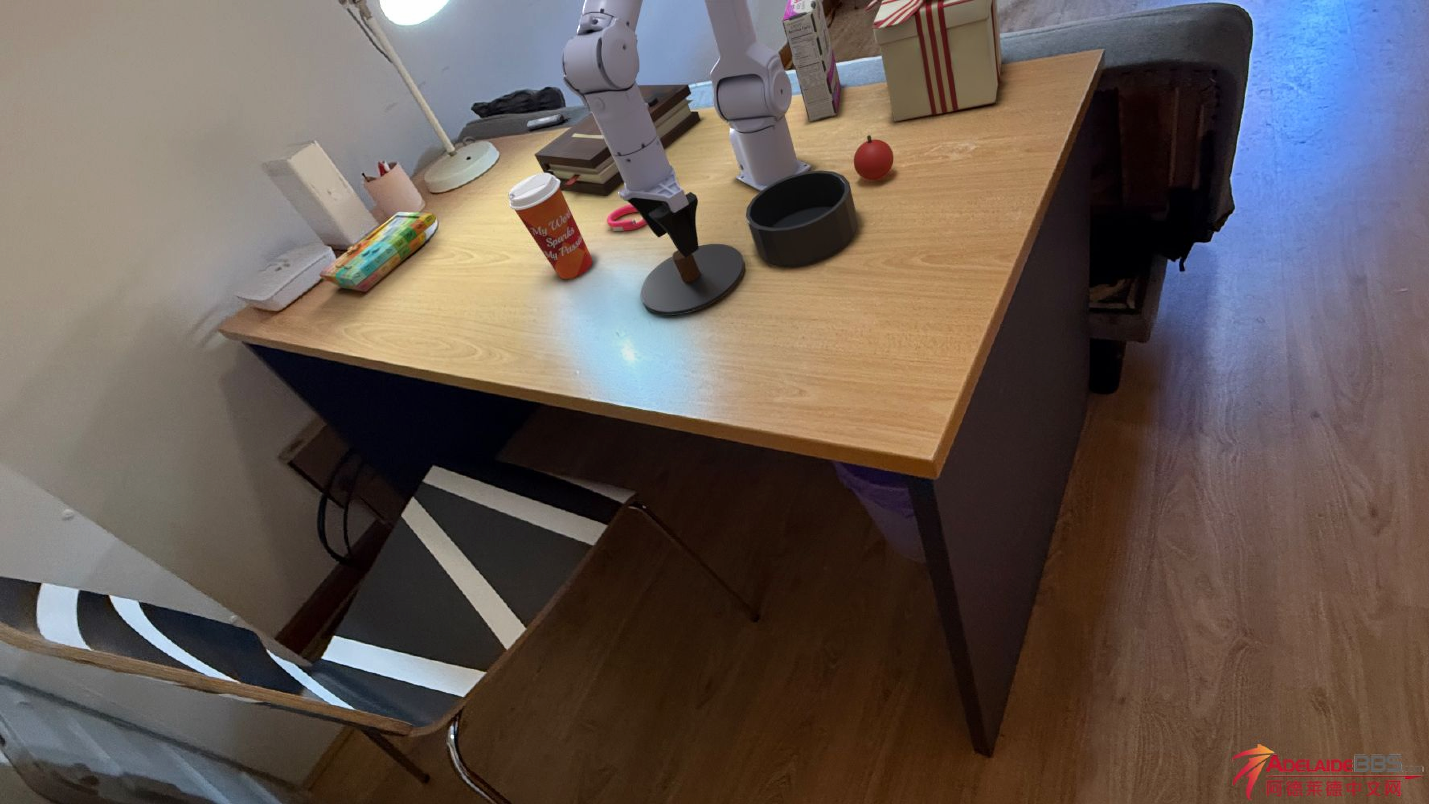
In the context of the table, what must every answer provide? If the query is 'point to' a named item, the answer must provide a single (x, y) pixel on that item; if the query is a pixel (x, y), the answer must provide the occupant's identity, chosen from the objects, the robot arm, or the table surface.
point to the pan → (803, 218)
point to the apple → (873, 159)
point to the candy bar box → (812, 57)
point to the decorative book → (586, 154)
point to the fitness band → (626, 223)
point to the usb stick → (545, 121)
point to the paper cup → (551, 224)
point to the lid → (692, 279)
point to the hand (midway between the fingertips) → (677, 242)
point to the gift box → (938, 54)
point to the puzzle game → (379, 251)
